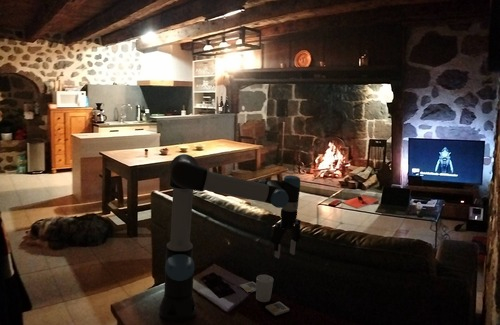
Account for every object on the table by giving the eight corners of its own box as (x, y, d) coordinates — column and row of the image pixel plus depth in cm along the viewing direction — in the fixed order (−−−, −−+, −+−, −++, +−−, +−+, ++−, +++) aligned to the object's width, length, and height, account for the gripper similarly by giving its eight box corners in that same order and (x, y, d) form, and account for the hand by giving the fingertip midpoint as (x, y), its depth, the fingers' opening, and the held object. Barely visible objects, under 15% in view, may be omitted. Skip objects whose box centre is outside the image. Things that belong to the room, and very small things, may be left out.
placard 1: (239, 286, 195) (239, 284, 195) (252, 283, 200) (252, 281, 199) (247, 293, 189) (247, 291, 189) (260, 289, 194) (261, 287, 194)
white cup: (270, 304, 182) (272, 284, 180) (253, 301, 183) (255, 281, 181) (272, 295, 189) (274, 276, 187) (256, 292, 191) (258, 273, 189)
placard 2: (265, 307, 178) (265, 305, 178) (279, 303, 183) (279, 301, 183) (275, 315, 173) (275, 313, 172) (289, 311, 177) (289, 308, 177)
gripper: (276, 214, 175) (271, 262, 179) (311, 209, 188) (306, 254, 192) (265, 209, 181) (261, 256, 185) (301, 204, 194) (296, 248, 198)
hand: (284, 255), depth 189 cm, fingers open, 9 cm apart
